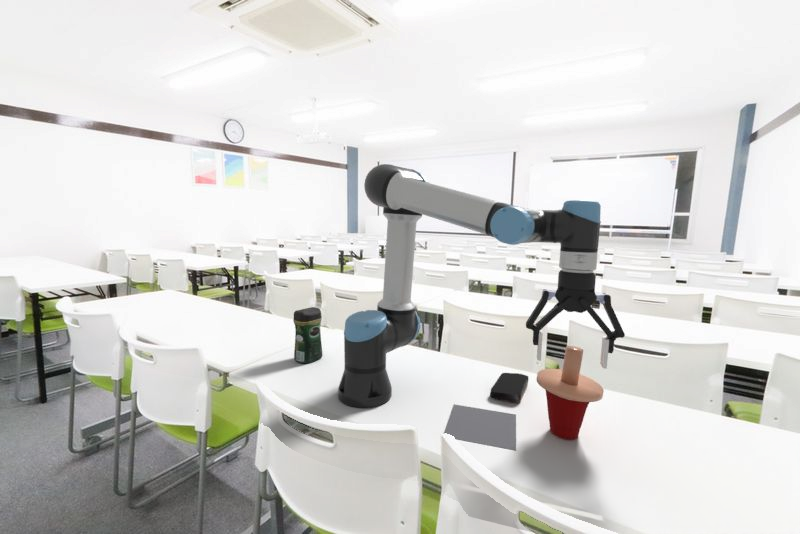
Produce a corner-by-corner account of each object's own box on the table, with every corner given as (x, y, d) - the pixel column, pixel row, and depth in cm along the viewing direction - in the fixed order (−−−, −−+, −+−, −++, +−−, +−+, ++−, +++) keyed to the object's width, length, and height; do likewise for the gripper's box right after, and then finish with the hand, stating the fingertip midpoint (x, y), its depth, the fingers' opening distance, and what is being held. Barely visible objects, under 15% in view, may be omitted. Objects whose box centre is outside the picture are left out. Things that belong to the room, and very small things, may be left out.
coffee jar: (311, 353, 137) (310, 304, 135) (325, 357, 133) (325, 307, 131) (289, 360, 129) (289, 309, 127) (304, 365, 125) (304, 312, 123)
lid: (538, 392, 80) (544, 352, 79) (534, 369, 93) (540, 334, 92) (609, 408, 76) (617, 366, 75) (595, 380, 89) (601, 344, 88)
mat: (442, 438, 84) (442, 436, 84) (453, 406, 99) (453, 404, 99) (515, 452, 79) (516, 450, 79) (515, 416, 94) (515, 414, 94)
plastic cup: (593, 454, 79) (597, 401, 78) (539, 442, 83) (542, 391, 82) (588, 428, 89) (592, 381, 88) (540, 419, 93) (543, 373, 92)
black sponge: (519, 408, 99) (520, 395, 98) (488, 401, 103) (488, 388, 102) (529, 386, 113) (529, 374, 113) (501, 380, 117) (502, 369, 117)
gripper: (518, 269, 82) (513, 361, 84) (647, 276, 74) (637, 376, 77) (518, 266, 89) (513, 350, 91) (635, 271, 82) (627, 363, 84)
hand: (570, 362), depth 84 cm, fingers open, 13 cm apart
